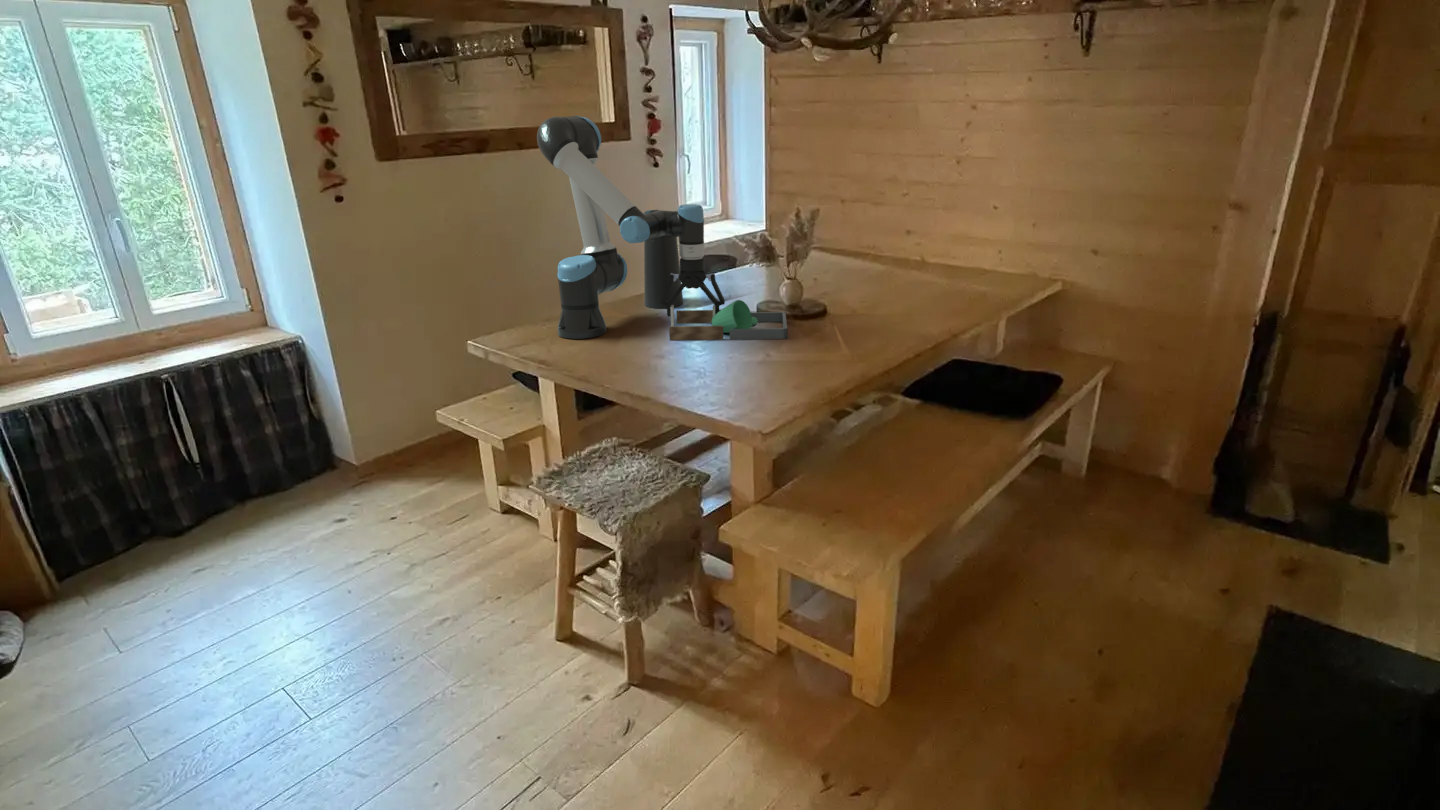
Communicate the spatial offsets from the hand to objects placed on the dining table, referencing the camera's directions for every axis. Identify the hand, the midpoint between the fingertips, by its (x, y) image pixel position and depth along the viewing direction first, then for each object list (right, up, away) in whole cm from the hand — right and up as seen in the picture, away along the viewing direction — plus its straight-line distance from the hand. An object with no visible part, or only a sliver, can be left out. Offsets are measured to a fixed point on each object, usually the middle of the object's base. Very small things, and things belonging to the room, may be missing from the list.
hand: (693, 326), depth 247 cm
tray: (+20, -1, -1) cm, 20 cm away
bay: (+2, -1, 0) cm, 2 cm away
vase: (-11, +10, +33) cm, 36 cm away
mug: (+9, 0, -1) cm, 9 cm away
